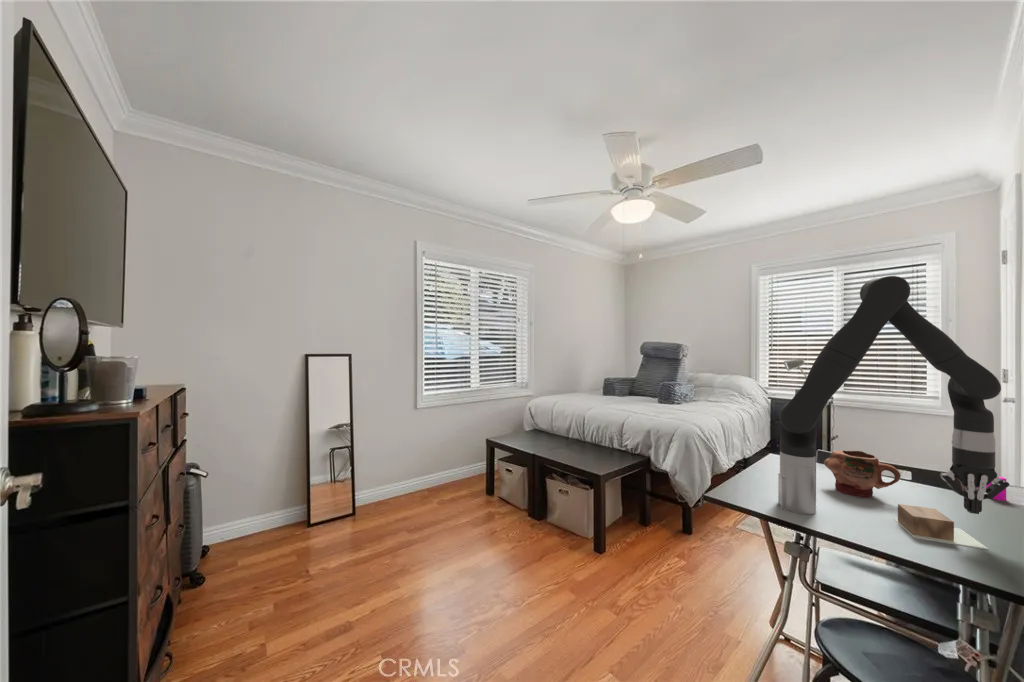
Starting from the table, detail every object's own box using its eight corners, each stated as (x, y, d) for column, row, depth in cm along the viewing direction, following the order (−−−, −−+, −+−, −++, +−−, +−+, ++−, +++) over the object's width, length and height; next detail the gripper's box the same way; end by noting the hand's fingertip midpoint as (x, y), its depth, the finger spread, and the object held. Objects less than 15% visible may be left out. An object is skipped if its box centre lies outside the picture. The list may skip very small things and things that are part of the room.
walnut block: (953, 541, 104) (913, 534, 108) (935, 526, 112) (897, 521, 116) (953, 521, 104) (913, 516, 108) (935, 508, 112) (897, 503, 116)
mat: (914, 538, 106) (914, 537, 106) (894, 520, 117) (894, 518, 117) (988, 550, 100) (988, 548, 100) (960, 530, 111) (960, 528, 111)
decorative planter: (902, 498, 134) (902, 456, 134) (899, 508, 126) (899, 464, 126) (827, 482, 149) (827, 445, 149) (820, 490, 141) (820, 451, 141)
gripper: (947, 447, 105) (946, 513, 105) (1019, 453, 100) (1019, 523, 100) (931, 441, 112) (931, 503, 112) (998, 446, 107) (998, 511, 107)
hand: (972, 512), depth 106 cm, fingers closed
